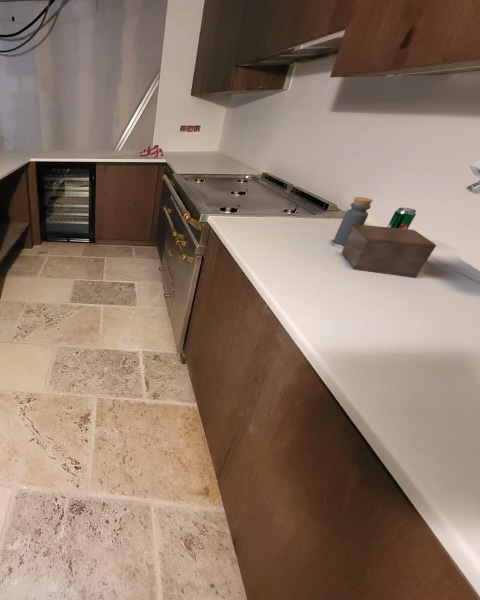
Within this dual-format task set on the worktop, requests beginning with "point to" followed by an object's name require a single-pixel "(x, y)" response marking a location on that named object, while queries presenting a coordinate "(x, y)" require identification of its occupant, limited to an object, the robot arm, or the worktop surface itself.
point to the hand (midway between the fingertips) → (470, 190)
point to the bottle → (353, 218)
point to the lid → (392, 235)
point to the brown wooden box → (385, 256)
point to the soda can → (402, 218)
